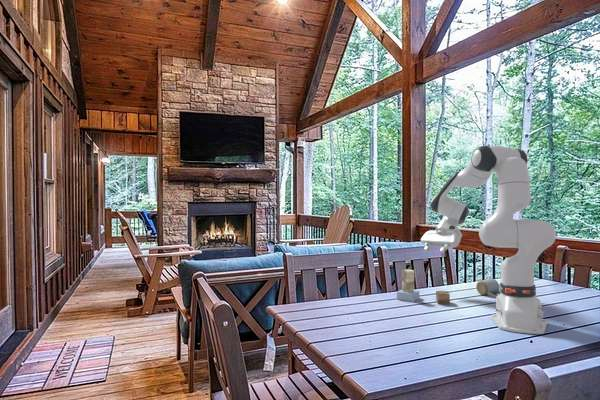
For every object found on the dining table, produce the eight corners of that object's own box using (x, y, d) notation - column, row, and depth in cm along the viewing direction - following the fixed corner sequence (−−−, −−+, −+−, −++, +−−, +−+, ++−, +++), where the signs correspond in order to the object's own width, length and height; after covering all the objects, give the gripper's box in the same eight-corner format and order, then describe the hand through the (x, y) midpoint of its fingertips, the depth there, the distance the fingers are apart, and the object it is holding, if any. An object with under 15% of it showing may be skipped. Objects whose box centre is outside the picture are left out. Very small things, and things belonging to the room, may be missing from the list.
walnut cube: (449, 304, 169) (449, 293, 169) (438, 304, 170) (437, 293, 170) (447, 301, 174) (447, 291, 174) (436, 301, 175) (436, 290, 175)
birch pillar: (413, 291, 180) (414, 270, 180) (407, 292, 178) (407, 271, 178) (408, 289, 183) (408, 269, 183) (401, 290, 182) (402, 269, 182)
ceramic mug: (475, 293, 187) (474, 278, 187) (487, 292, 190) (487, 276, 190) (492, 299, 177) (492, 282, 177) (505, 297, 180) (505, 281, 180)
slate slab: (413, 302, 175) (412, 294, 175) (396, 300, 180) (396, 291, 180) (419, 298, 181) (419, 290, 181) (403, 296, 186) (403, 288, 186)
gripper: (425, 226, 201) (413, 245, 195) (460, 227, 184) (448, 248, 178) (430, 234, 203) (419, 253, 197) (465, 235, 186) (454, 257, 180)
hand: (433, 251), depth 188 cm, fingers open, 8 cm apart
